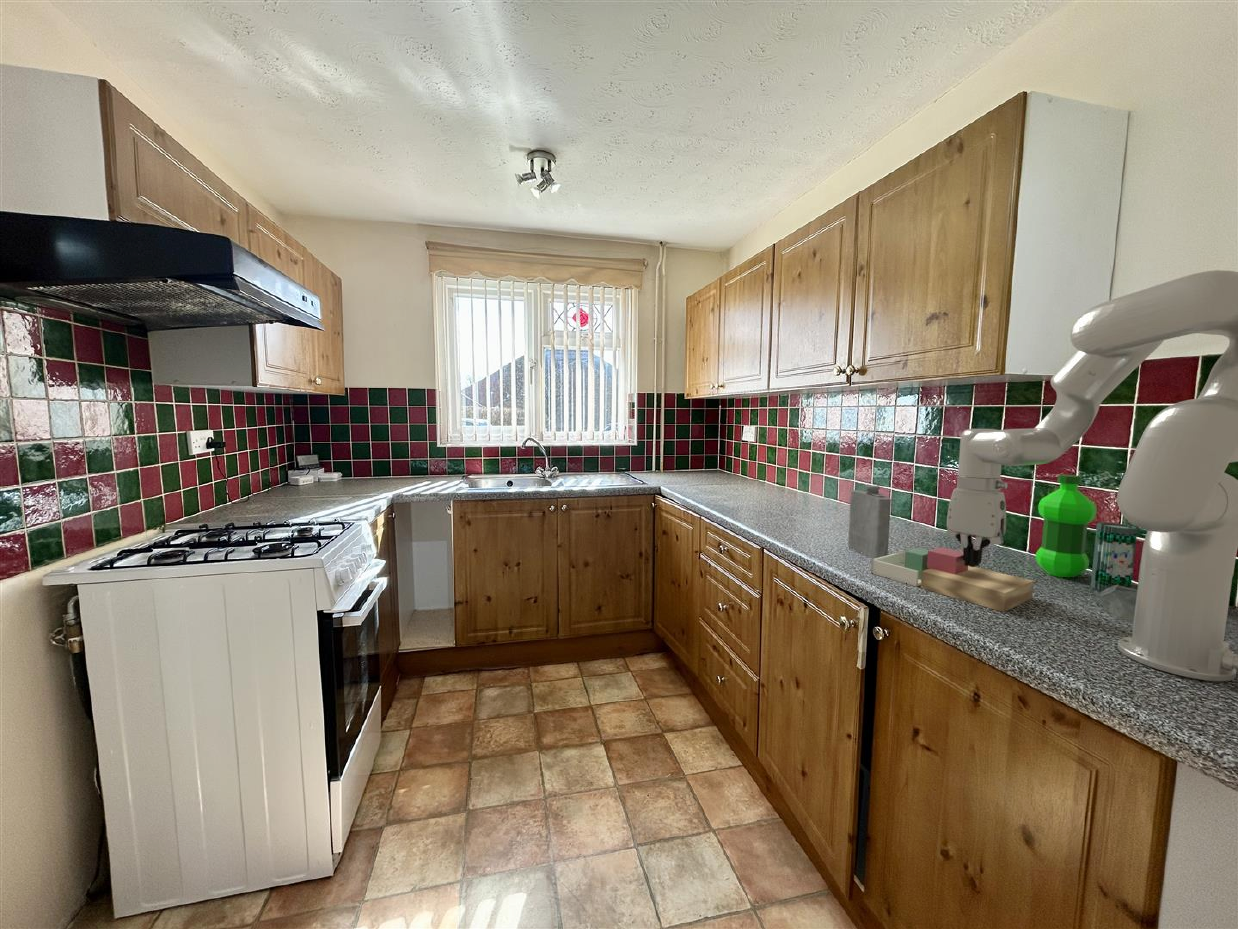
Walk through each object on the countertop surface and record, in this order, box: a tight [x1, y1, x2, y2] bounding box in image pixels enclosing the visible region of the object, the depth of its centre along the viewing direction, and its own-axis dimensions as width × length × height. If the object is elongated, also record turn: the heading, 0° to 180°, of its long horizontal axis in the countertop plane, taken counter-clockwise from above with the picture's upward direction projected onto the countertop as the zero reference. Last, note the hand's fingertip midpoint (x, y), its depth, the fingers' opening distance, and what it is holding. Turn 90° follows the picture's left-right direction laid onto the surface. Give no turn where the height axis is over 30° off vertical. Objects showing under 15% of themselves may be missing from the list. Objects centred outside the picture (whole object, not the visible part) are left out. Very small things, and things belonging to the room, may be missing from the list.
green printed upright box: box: [1090, 522, 1139, 592], centre depth 110 cm, size 6×6×15 cm
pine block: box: [920, 566, 1035, 613], centre depth 108 cm, size 16×14×4 cm
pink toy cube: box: [927, 546, 968, 574], centre depth 113 cm, size 6×6×4 cm
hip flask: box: [847, 484, 892, 560], centre depth 137 cm, size 16×4×20 cm, turn 5°
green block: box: [904, 547, 930, 580], centre depth 118 cm, size 6×6×4 cm
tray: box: [870, 550, 921, 587], centre depth 120 cm, size 11×14×4 cm
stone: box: [1097, 585, 1137, 624], centre depth 96 cm, size 11×4×10 cm
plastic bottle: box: [1035, 474, 1098, 578], centre depth 120 cm, size 10×10×25 cm
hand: (971, 565), depth 108 cm, fingers closed
